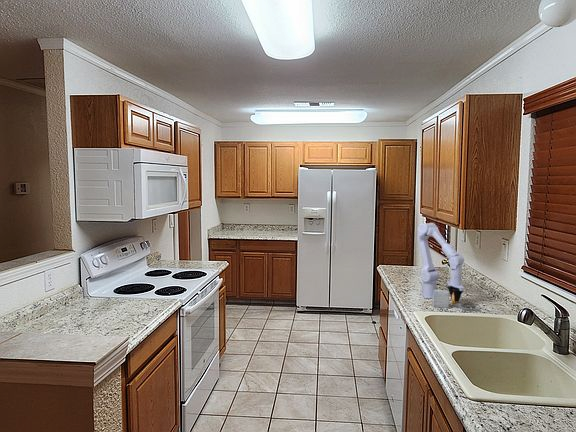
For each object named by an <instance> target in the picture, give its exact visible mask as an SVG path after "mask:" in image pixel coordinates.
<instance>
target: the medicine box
mask: <svg viewBox="0 0 576 432" xmlns="http://www.w3.org/2000/svg"><path fill="white" fill-rule="evenodd" d="M449 303H450V292H449V290H444V289H443V290H441V289H436V290H433V298H432V306H433V308H442V309H443V308H444V309H446V308H447V309H449V306H450V305H449Z"/></svg>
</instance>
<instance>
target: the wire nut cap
mask: <svg viewBox="0 0 576 432" xmlns="http://www.w3.org/2000/svg"><path fill="white" fill-rule="evenodd" d="M451 304H452V305H456V304H459V301H458V302H455V300H454V293H453V294H452V299H451Z"/></svg>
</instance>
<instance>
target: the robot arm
mask: <svg viewBox="0 0 576 432" xmlns="http://www.w3.org/2000/svg"><path fill="white" fill-rule="evenodd" d="M430 237H433V238H434V239H435V241H436V242H437V243H438V244H439V245H440V246H441V251H442V252H443V254H444V255H445V256H446V257H447V259H448V261H447V262H448V264H449V267H450V269H449V270H450V271H449V273H450V274H449V275H450V276H449V277H450V278H449V280H448V281H447V286H446V288H447V291H448V292H449V297H450V299H451V300H452V294H453V293H454V300H455V302H458V303H459V301H460V299H461V296H462V294H463V292H464V291H465V287H464V286H463V285H462V272H463V271H462V270H463V268H462V267H463V265H464V263H465V259H464V256H463V255H462V254H459V252H457V250H456V249H455V248H454V245H452V244H451V243H448V242H447V241H446V239H445V238H444V237H443V235H442V234H441V232H440V230H439V227H438V226H437V225H436V224H435V223H434V222H429V223H420V224H419V226H417V237H416V239H417V243H418V248H419V252H420V257H421V261H422V266H423V267H422V268H421V270H420V271H421V274H420V279H421V280H422V283H421V293H420V295H421V296H422V297H423V298H424V299H433V290H437V282H438V281H437V280H439V279H440V273H439V272H438V269H437V268H436V267H437V266H436V267H435V266H434V263H433V260H432V253H431V251H430V246H429V240H428V239H429V238H430Z"/></svg>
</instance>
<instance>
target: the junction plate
mask: <svg viewBox="0 0 576 432" xmlns="http://www.w3.org/2000/svg"><path fill="white" fill-rule="evenodd" d="M455 306H456V307H457V308H459V309H460V310H461V311H463V312H465V311H466V312H467V311H469V312H471V311H472V312H475V311H476V312H481V310H482V309H481V308H479V307H478V306H477V305H475V304H474V303H470V302H462V303H458V304H455Z"/></svg>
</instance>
